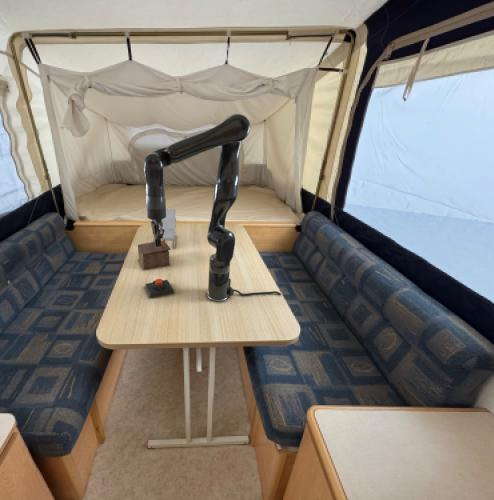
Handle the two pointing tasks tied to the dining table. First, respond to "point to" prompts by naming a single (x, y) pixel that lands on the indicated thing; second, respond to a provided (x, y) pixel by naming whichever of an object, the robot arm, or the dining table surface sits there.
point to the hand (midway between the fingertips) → (158, 245)
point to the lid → (153, 247)
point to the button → (158, 282)
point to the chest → (154, 259)
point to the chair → (169, 226)
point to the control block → (158, 289)
